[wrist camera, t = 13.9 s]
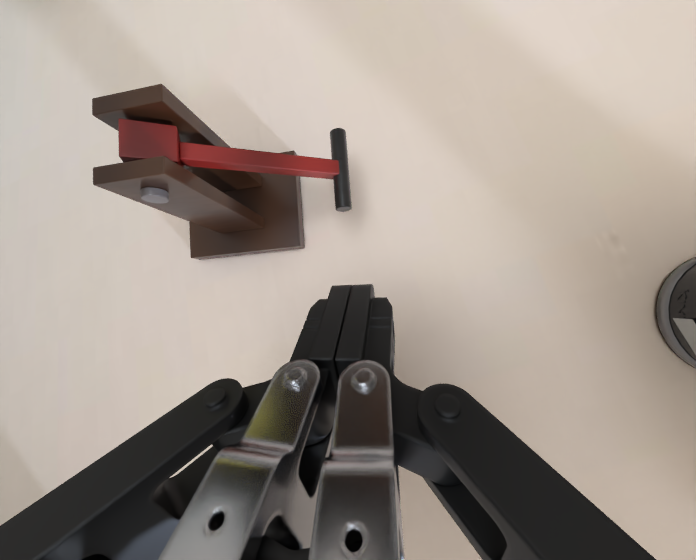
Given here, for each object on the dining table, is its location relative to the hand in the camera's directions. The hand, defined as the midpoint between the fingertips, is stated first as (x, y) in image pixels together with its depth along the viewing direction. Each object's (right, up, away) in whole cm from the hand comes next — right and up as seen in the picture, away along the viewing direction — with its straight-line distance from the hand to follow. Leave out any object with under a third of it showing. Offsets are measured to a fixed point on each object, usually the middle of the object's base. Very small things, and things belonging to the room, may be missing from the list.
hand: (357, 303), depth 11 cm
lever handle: (-7, +9, +10) cm, 15 cm away
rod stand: (-10, +8, +18) cm, 22 cm away
